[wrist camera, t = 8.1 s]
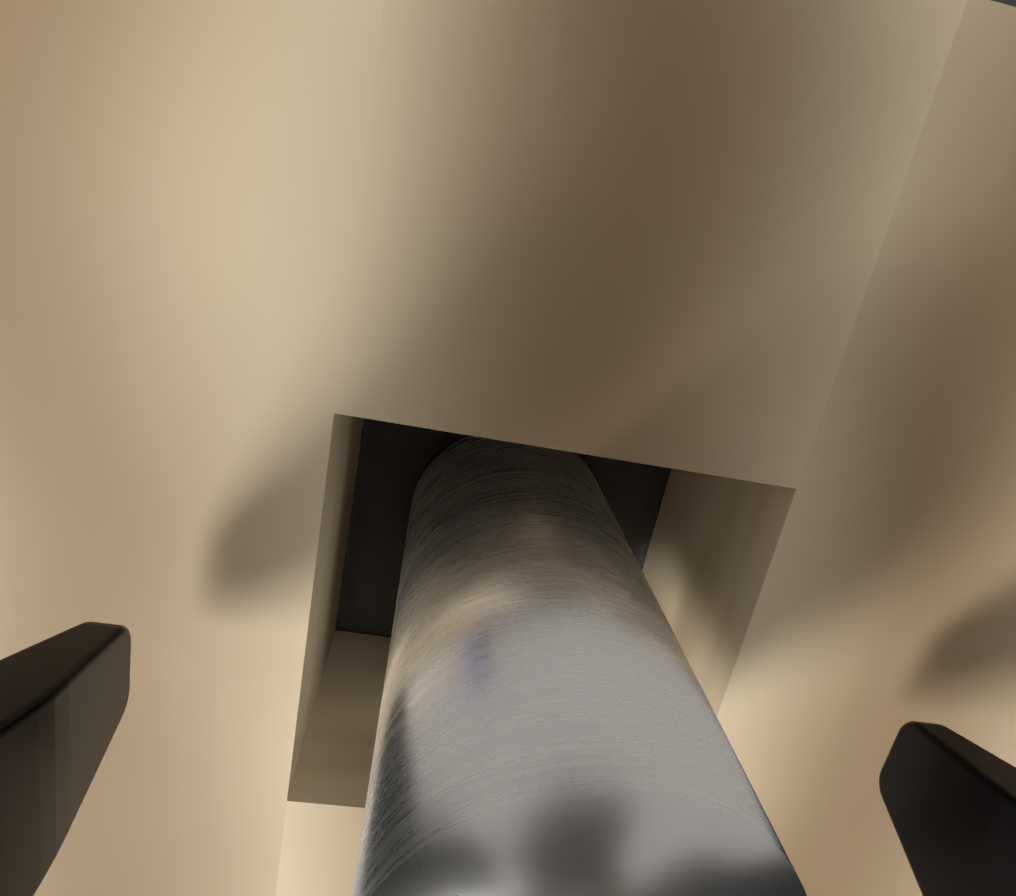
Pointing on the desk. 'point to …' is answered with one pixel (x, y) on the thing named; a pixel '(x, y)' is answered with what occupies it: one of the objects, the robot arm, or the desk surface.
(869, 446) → the bore block
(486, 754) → the long pin
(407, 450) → the desk surface
